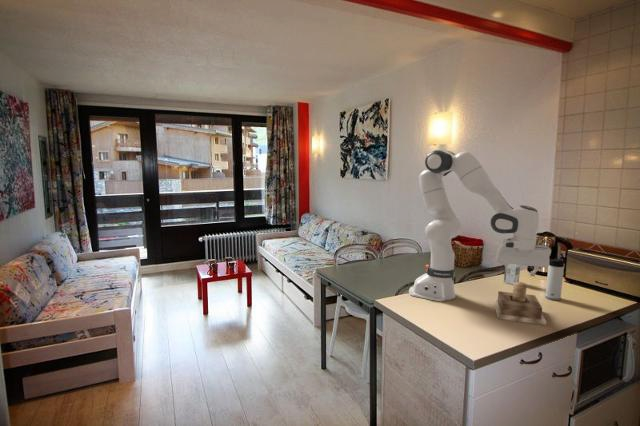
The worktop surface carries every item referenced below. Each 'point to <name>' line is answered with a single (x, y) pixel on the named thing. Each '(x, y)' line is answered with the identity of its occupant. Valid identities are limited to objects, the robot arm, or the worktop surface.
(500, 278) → the worktop surface
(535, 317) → the socket board
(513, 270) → the syrup box
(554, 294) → the travel mug
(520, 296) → the oak peg
